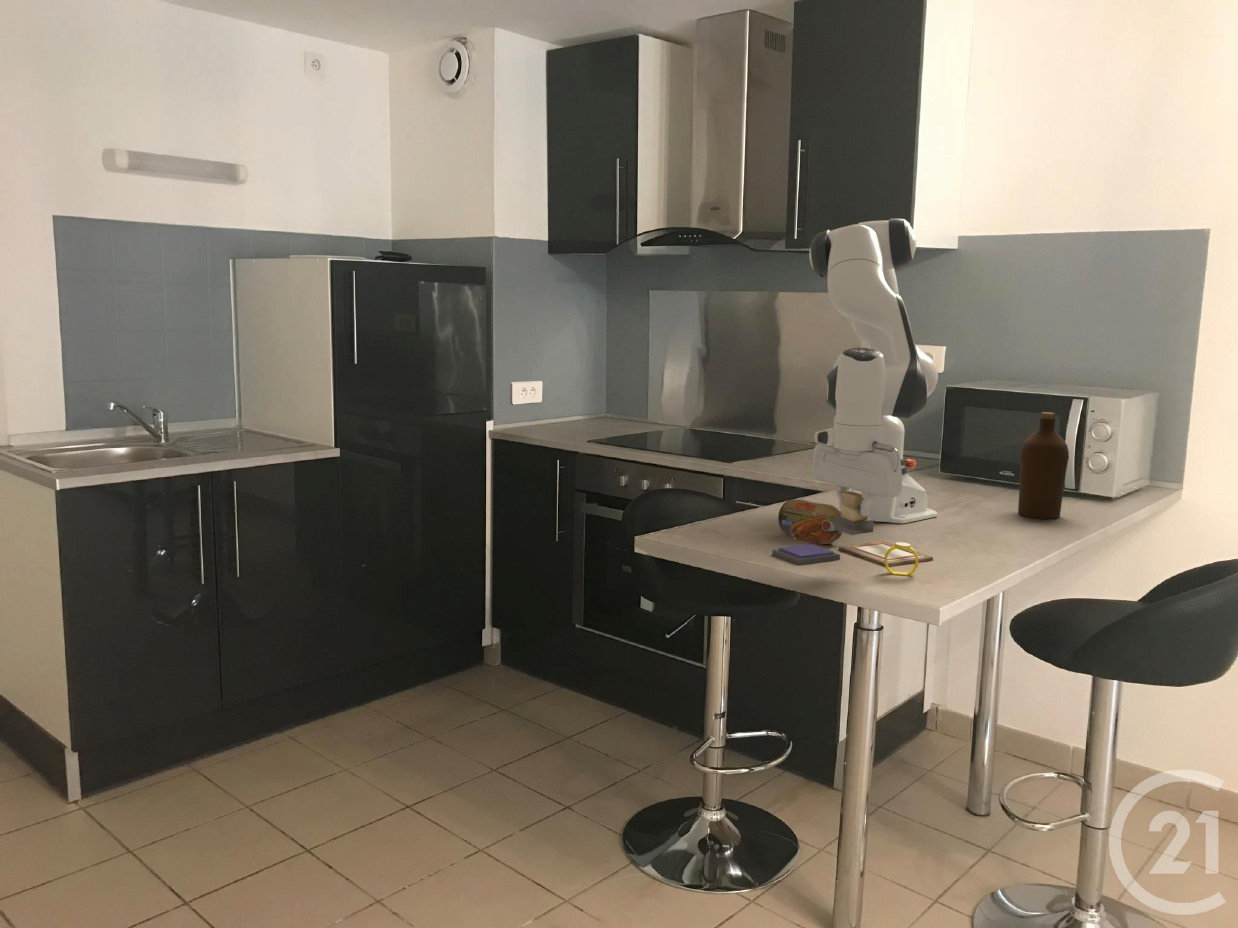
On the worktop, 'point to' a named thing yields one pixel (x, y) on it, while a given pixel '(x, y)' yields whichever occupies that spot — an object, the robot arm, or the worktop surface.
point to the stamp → (852, 515)
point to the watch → (901, 546)
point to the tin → (809, 521)
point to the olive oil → (1043, 471)
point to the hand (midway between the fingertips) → (854, 512)
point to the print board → (878, 551)
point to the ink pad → (805, 554)
